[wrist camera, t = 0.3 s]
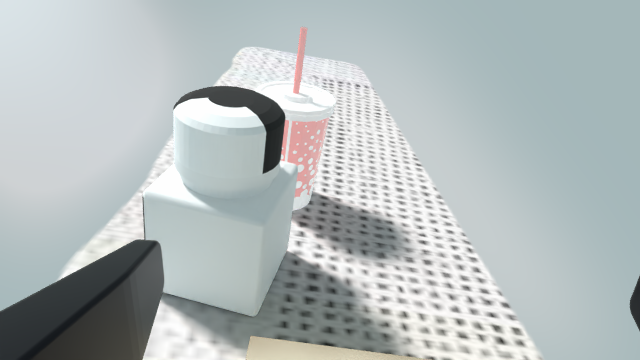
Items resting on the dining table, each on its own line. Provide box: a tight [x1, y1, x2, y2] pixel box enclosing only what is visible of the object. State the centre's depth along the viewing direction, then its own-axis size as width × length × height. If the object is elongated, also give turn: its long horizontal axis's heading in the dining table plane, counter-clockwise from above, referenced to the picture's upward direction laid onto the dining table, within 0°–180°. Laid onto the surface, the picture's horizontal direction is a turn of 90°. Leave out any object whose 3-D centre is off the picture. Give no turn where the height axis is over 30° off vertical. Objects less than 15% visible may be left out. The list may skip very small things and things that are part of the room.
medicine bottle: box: [143, 86, 298, 316], centre depth 29 cm, size 7×7×12 cm
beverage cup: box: [255, 27, 336, 210], centre depth 38 cm, size 6×6×14 cm
